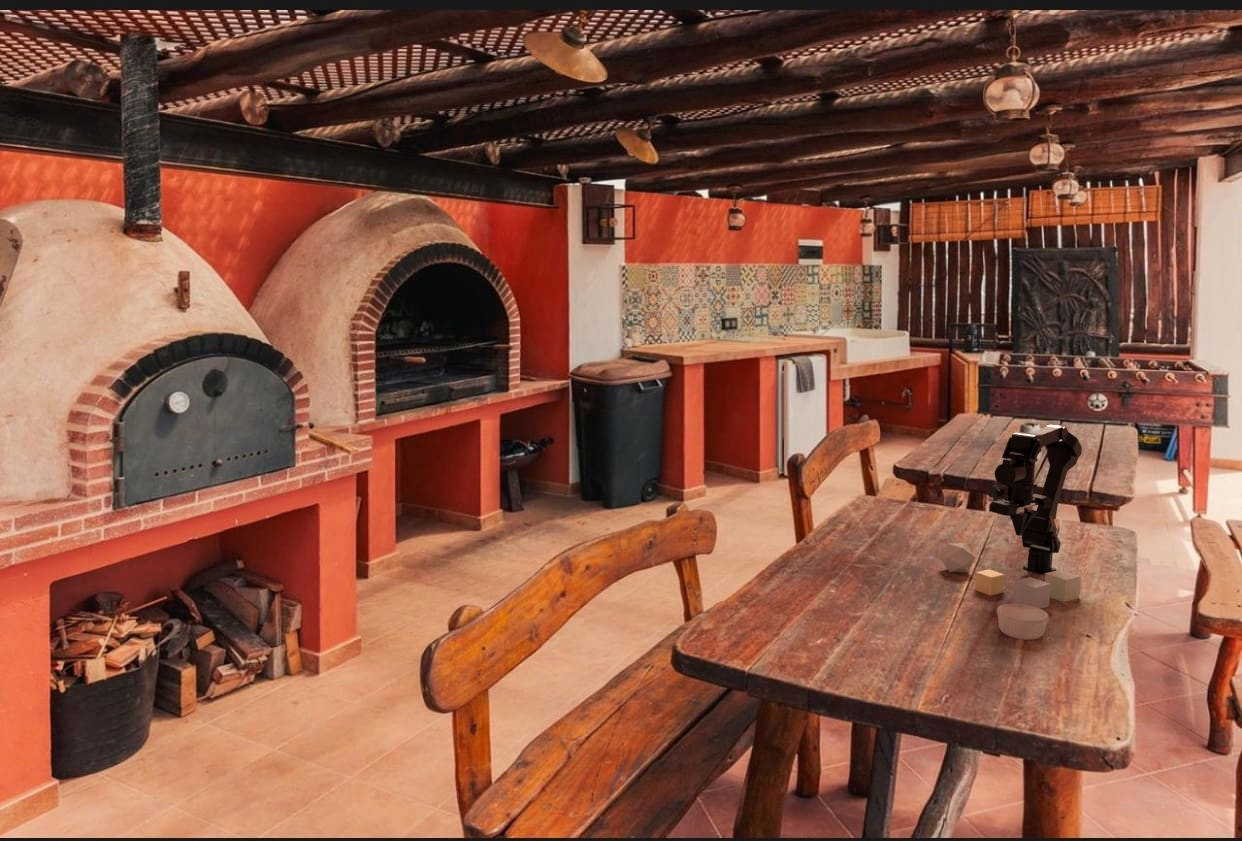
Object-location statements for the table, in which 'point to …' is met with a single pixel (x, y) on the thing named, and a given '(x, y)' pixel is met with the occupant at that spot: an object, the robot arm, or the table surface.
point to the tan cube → (1063, 585)
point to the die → (957, 557)
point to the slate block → (1032, 592)
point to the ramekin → (1022, 621)
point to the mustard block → (989, 582)
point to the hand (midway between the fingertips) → (1018, 535)
